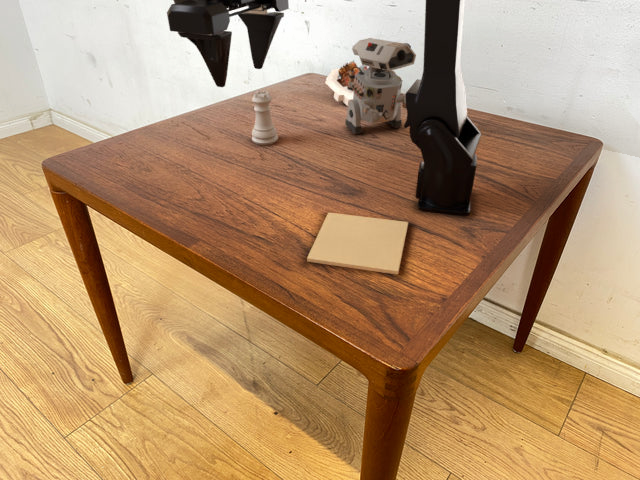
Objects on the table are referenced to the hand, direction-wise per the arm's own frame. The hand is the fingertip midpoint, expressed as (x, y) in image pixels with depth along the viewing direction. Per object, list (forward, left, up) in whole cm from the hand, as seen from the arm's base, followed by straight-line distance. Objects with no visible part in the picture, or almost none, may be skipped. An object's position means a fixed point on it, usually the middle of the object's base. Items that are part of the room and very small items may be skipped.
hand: (240, 77), depth 66 cm
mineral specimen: (-9, -36, -14) cm, 40 cm away
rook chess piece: (+1, -10, -14) cm, 17 cm away
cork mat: (-20, +16, -13) cm, 29 cm away
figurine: (-17, -18, -14) cm, 28 cm away
